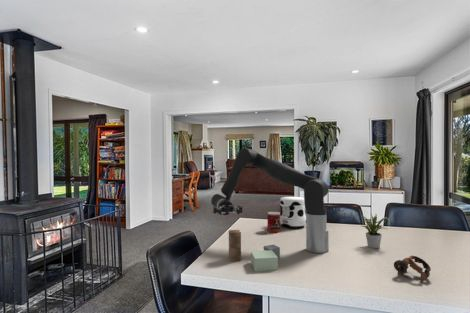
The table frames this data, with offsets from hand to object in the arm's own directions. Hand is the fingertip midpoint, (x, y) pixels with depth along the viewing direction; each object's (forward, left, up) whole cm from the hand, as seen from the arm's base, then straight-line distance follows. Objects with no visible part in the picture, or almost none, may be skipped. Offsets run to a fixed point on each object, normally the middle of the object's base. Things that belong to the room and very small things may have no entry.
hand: (229, 212), depth 132 cm
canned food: (-32, -31, -18) cm, 48 cm away
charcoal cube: (-16, +13, -18) cm, 28 cm away
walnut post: (0, +11, -18) cm, 21 cm away
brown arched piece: (-59, +42, -18) cm, 75 cm away
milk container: (-48, -41, -18) cm, 66 cm away
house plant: (-70, +9, -18) cm, 73 cm away
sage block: (-10, +21, -18) cm, 30 cm away
